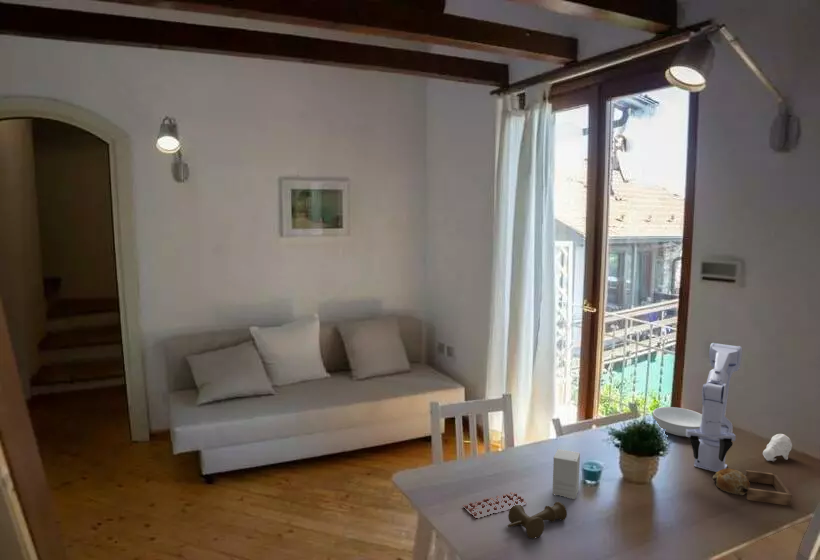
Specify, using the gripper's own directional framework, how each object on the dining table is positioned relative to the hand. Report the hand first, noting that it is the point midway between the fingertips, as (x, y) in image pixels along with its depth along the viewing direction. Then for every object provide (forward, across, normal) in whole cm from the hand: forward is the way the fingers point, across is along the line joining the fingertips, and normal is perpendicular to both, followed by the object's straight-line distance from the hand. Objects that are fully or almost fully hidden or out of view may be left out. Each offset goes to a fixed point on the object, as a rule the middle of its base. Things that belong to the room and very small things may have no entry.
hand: (708, 459), depth 183 cm
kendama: (+9, -56, -38) cm, 68 cm away
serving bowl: (+9, +3, +45) cm, 46 cm away
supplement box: (+9, -46, -16) cm, 50 cm away
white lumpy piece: (+9, +31, +26) cm, 41 cm away
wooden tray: (+9, +16, -2) cm, 18 cm away
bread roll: (+9, +7, -1) cm, 11 cm away
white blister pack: (+10, -68, -29) cm, 75 cm away
